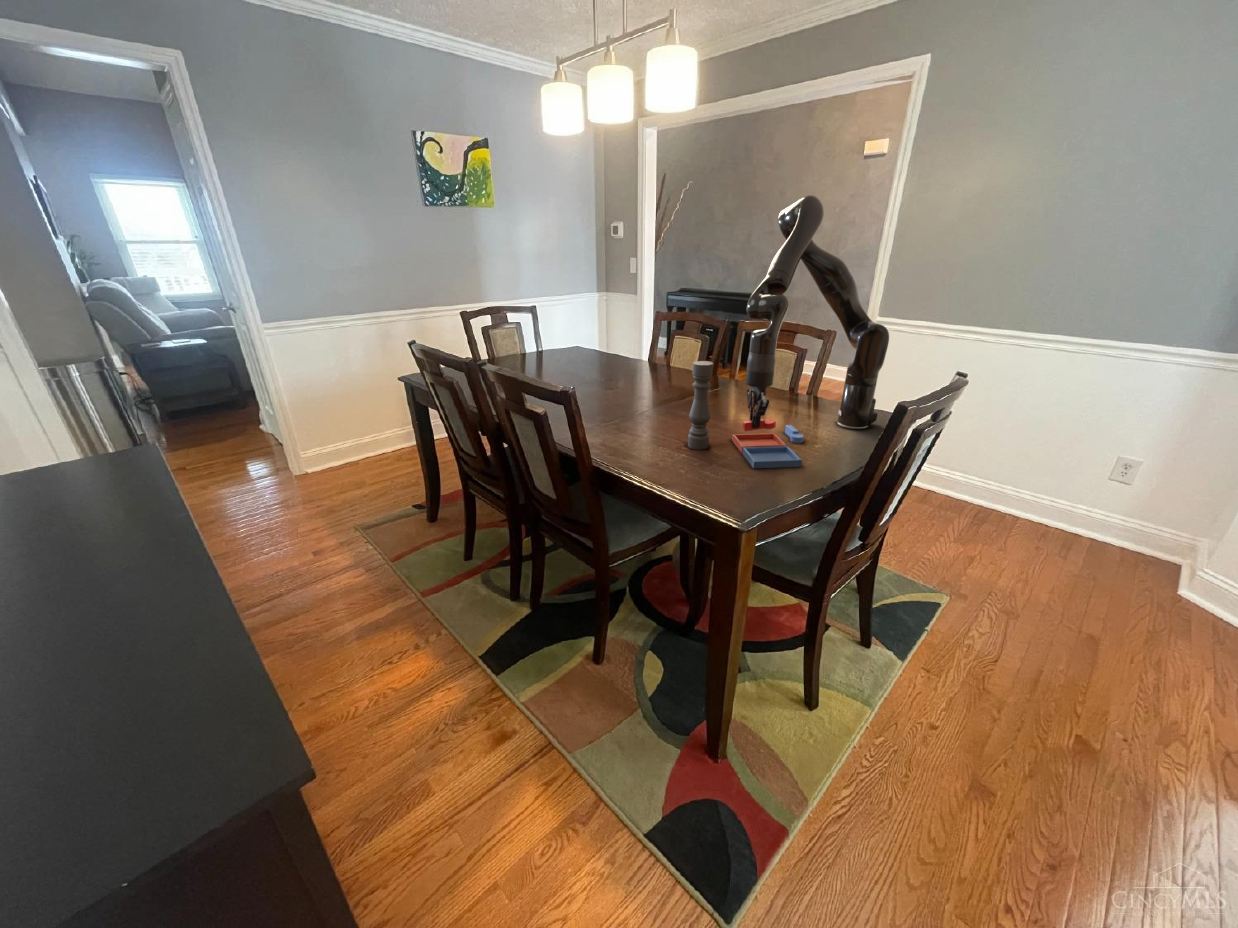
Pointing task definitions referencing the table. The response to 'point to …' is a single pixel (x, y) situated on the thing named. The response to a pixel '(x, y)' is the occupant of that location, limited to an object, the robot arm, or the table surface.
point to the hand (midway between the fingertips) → (754, 426)
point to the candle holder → (700, 405)
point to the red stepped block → (763, 424)
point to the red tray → (757, 440)
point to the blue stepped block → (794, 434)
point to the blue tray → (771, 457)
